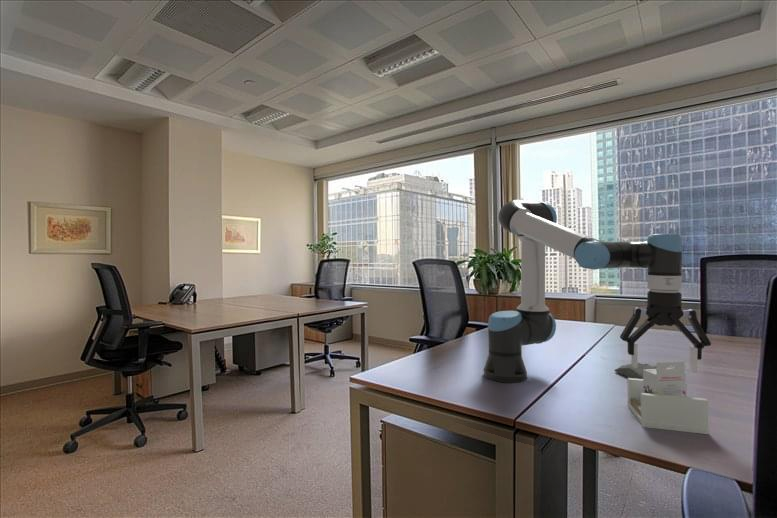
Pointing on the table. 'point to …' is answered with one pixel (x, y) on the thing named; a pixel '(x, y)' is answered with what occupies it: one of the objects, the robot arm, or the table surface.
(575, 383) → the table surface
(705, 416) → the rack
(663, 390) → the ink box
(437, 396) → the table surface
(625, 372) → the stone
